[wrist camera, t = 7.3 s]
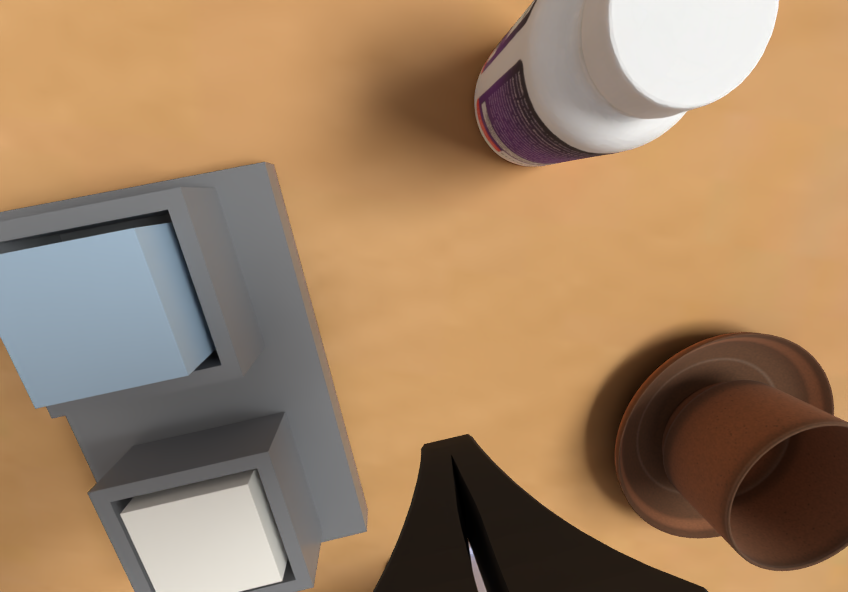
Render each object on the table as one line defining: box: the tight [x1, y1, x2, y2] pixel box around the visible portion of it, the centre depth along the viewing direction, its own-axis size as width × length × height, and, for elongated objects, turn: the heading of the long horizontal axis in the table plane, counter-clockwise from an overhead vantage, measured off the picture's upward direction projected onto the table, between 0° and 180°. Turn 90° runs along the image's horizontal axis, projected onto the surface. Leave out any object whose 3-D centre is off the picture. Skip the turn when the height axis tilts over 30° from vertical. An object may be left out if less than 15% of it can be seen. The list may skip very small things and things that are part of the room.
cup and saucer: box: [615, 332, 848, 571], centre depth 21 cm, size 12×12×6 cm
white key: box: [120, 468, 288, 592], centre depth 18 cm, size 5×5×3 cm
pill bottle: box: [474, 0, 779, 166], centre depth 14 cm, size 5×5×10 cm
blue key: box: [0, 222, 216, 409], centre depth 14 cm, size 5×5×3 cm
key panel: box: [0, 162, 368, 592], centre depth 18 cm, size 18×11×4 cm, turn 11°
